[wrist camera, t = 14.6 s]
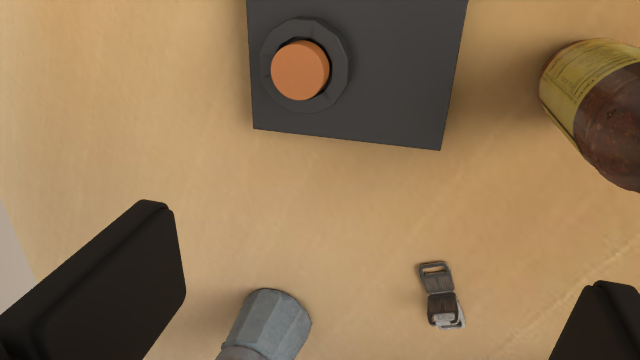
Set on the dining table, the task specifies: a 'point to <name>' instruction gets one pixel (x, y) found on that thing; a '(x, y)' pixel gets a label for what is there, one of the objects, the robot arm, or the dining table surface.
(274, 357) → the moka pot
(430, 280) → the strap clip
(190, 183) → the dining table surface
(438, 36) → the grey push button box
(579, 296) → the robot arm
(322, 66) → the button
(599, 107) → the sauce bottle
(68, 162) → the dining table surface
